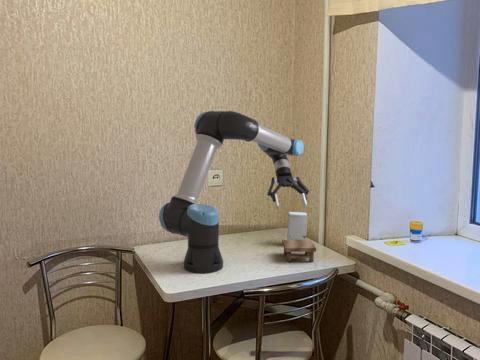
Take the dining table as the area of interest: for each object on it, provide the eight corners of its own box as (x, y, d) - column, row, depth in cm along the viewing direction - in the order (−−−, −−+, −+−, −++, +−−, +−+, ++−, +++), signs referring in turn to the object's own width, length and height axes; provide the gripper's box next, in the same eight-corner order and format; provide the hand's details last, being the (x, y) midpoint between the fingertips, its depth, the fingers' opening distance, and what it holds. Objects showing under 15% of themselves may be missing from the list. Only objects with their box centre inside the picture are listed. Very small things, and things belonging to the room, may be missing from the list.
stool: (285, 262, 172) (285, 248, 171) (281, 253, 183) (282, 239, 183) (315, 262, 172) (316, 248, 171) (310, 253, 184) (310, 239, 183)
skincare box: (287, 247, 193) (288, 214, 191) (286, 243, 199) (287, 211, 197) (306, 247, 192) (307, 214, 190) (305, 243, 198) (306, 211, 196)
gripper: (304, 174, 220) (314, 209, 208) (257, 175, 215) (264, 212, 203) (308, 165, 214) (319, 201, 202) (259, 166, 209) (267, 203, 197)
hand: (291, 206), depth 202 cm, fingers open, 13 cm apart
